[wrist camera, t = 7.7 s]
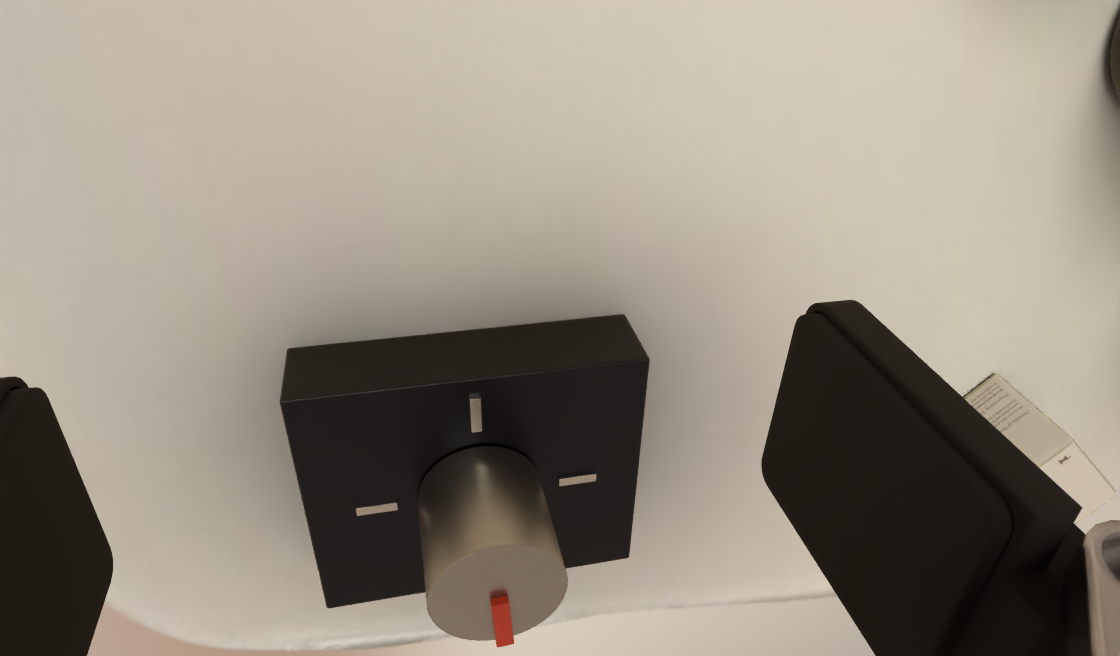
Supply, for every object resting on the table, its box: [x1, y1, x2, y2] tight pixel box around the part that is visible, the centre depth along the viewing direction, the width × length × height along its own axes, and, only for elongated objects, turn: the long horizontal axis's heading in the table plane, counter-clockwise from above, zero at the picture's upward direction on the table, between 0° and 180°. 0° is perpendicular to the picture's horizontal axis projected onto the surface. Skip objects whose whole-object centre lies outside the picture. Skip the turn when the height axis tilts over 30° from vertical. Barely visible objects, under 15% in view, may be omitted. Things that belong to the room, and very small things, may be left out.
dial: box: [417, 446, 568, 647], centre depth 25 cm, size 4×4×5 cm
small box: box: [964, 374, 1116, 524], centre depth 34 cm, size 6×6×5 cm
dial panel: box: [280, 315, 650, 608], centre depth 28 cm, size 12×10×3 cm
